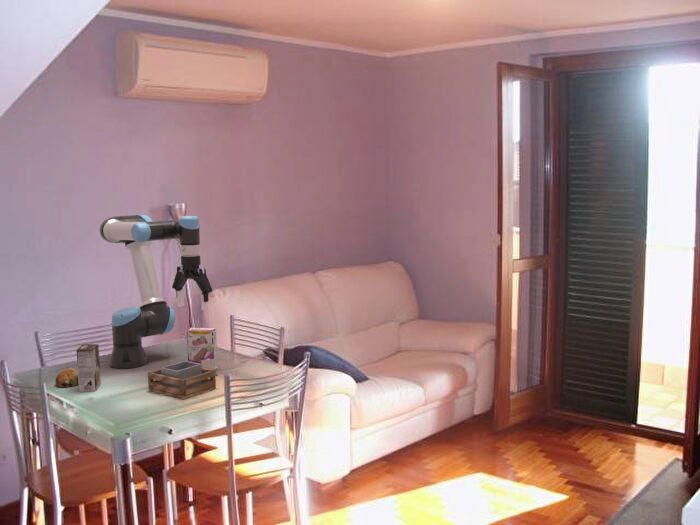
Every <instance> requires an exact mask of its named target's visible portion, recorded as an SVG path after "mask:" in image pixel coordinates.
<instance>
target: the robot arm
mask: <svg viewBox="0 0 700 525" xmlns="http://www.w3.org/2000/svg"><path fill="white" fill-rule="evenodd" d="M200 227H201V226H200V220H199V217H198V216H197V215H182V216H179V219H175V218H174V219H168V220H158V221H153V220H152V219H151V218H150V217H149V216H148V215H145V214H134V215H132V214H131V215H120V216H119V215H117V216H111V217H108V218H105V220H103V221H102V223H100V226H99V235H100V237H101V238H102V239H103V240H104V241H106V242H108V243H112V244H118V243H119V244H122V243H123V244H124V246H125V249H127V250H128V251H130V257H131V260H132V265H133V270H134V273H135V278H136V282H137V287H138V292H139V295H140V300H141V304H140V306H139V307H137V306H134V307H133V306H132V307H125V308H121V309H118V310H116V311H114V313H112V314H111V327H112V328H111V329H112V330H111V331H112V346H113V347H112V351H111V354H110V359H109V367H111V368H113V369H134V368H138V367H139V368H140V367H142V366H145V365H146V364H148V357H147V355H146V353H145V350H144V347H143V344H142V343H143V342H142V340H143V338H148V337H154V336H159V335H160V336H161V335H164V334H168V333H170V332H172V331H173V329H174V328H175V323H176V314H175V313H176V312H175V310H174V308H173V307H172V305H168V303H167V300H165V299H164V298H162V293H161V289H160V284H159V281H158V280H159V279H158V276H157V271H156V267H155V263H154V258H153V255H152V251H151V245H152V244H153V241H165V240H179V242H180V243H179V244H180V255H181V256H180V264H181V265H180V266H177V267H176V274H175V276H174V278H173V281H172V282H173V283H172V285H171V288H172V289H174V290H175V293H176V299H177V300H176V301H177V308H181V307H185V300H184V299H185V297H184V296H185V295H184V289H183V288H184V286H185V284H186V283H187V281H188V280H193V281H195V283H196V284H197V286H198V288H199V290H200V291H201V294H200V299H201V300H200V301H201V311H208V310H209V300H210V299H209V294H210V293H212V292H213V289H212V285H211V283H210V280H209V278H208V275H207V271H206V268H205V267H204V268H202V267H201V268H200V265H201V264H202V263H201V256H200V255H201V243H200V241H201V240H200Z"/></svg>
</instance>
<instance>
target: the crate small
mask: <svg viewBox="0 0 700 525" xmlns="http://www.w3.org/2000/svg"><path fill="white" fill-rule="evenodd" d="M160 369H161V375H164V376H169V377H173V378H178V379H187V378H190V377H193V376H197V375H200V374H202V364H198V363H193V362H188V360H184V361H180V362H177V363H174V364H169V365H166V366H162V367H160ZM161 384H162V385H167V386H171V387H175V388H180V389H181V386H180V385H176V384H171V383H167V382H163V381H161ZM199 384H202V380H201V381H198V382H195V383H192V384H189V385H186V388H190V387H193V386H196V385H199Z"/></svg>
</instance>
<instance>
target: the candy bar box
mask: <svg viewBox="0 0 700 525" xmlns="http://www.w3.org/2000/svg"><path fill="white" fill-rule="evenodd" d="M186 339H187V342H186V343H187V361H188V362H193V363H198V364H201V360H207V359H208V358H209V359H215V366H217V367H218V355H217V354H218V350H217V346H218V345H217V328H212V327H208V328H207V327H190V328H188V329H187V330H186Z"/></svg>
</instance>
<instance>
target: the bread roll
mask: <svg viewBox="0 0 700 525" xmlns="http://www.w3.org/2000/svg"><path fill="white" fill-rule="evenodd" d="M55 385H56V387H58V386H59V388H73V386H74V387H77V386H79V383H78V369H75V368H72V367H70V368H64V369H62V370H61V371H60V372H59V373H57V375H56V378H55Z"/></svg>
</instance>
